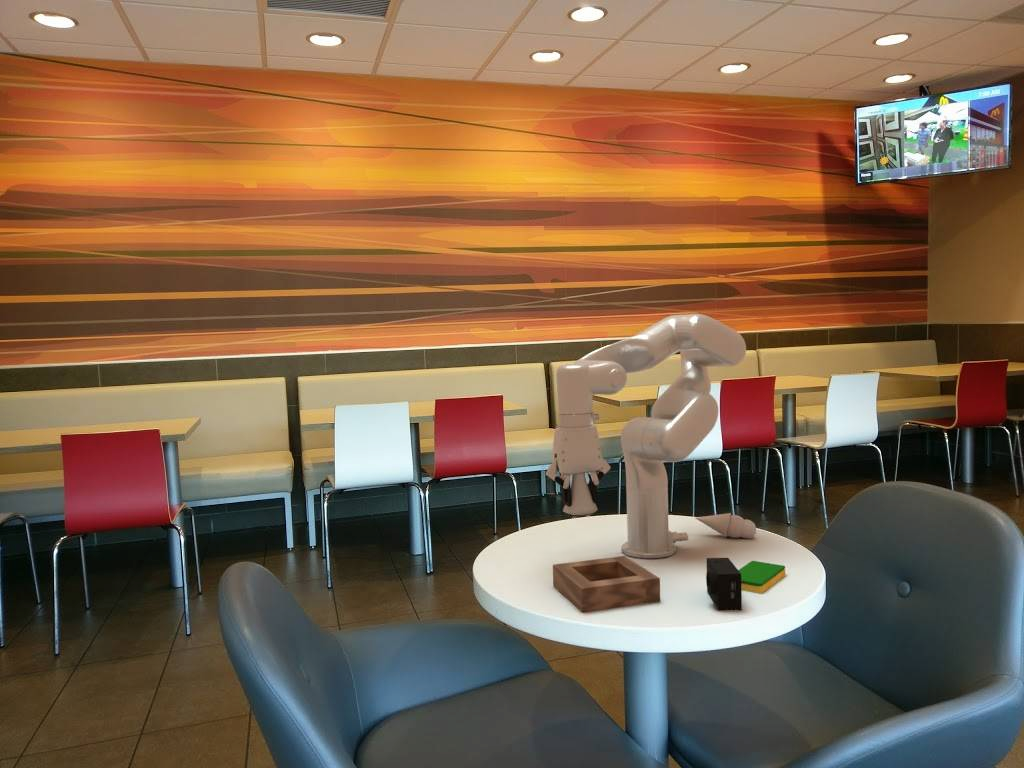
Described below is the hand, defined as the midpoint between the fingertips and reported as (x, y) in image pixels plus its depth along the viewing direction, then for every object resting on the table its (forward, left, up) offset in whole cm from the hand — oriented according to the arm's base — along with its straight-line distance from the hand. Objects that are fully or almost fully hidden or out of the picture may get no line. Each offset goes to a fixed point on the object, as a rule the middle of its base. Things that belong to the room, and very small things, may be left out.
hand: (579, 502), depth 166 cm
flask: (0, 0, -2) cm, 2 cm away
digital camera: (-17, +28, -15) cm, 36 cm away
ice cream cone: (-42, -11, -15) cm, 46 cm away
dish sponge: (-30, +21, -15) cm, 40 cm away
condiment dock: (+2, +16, -15) cm, 22 cm away
